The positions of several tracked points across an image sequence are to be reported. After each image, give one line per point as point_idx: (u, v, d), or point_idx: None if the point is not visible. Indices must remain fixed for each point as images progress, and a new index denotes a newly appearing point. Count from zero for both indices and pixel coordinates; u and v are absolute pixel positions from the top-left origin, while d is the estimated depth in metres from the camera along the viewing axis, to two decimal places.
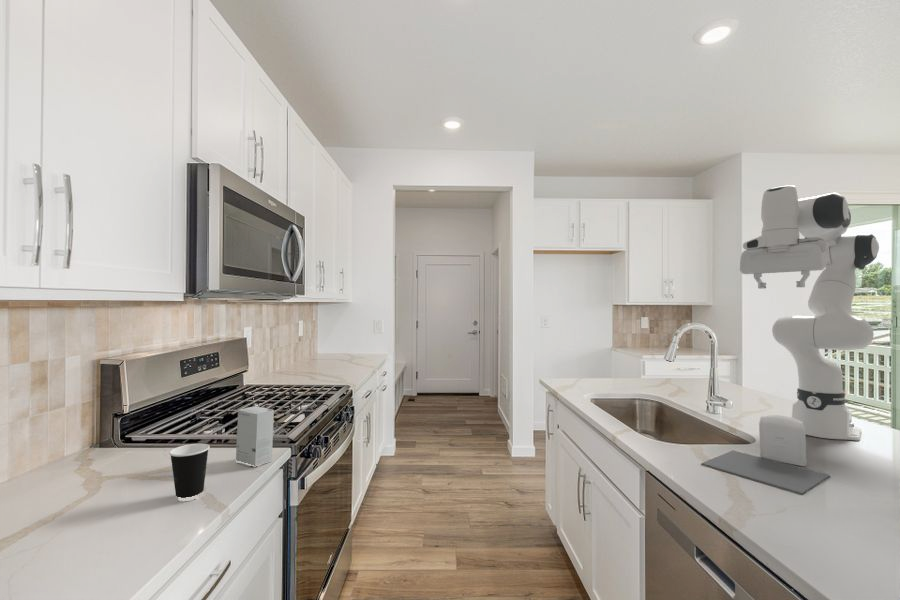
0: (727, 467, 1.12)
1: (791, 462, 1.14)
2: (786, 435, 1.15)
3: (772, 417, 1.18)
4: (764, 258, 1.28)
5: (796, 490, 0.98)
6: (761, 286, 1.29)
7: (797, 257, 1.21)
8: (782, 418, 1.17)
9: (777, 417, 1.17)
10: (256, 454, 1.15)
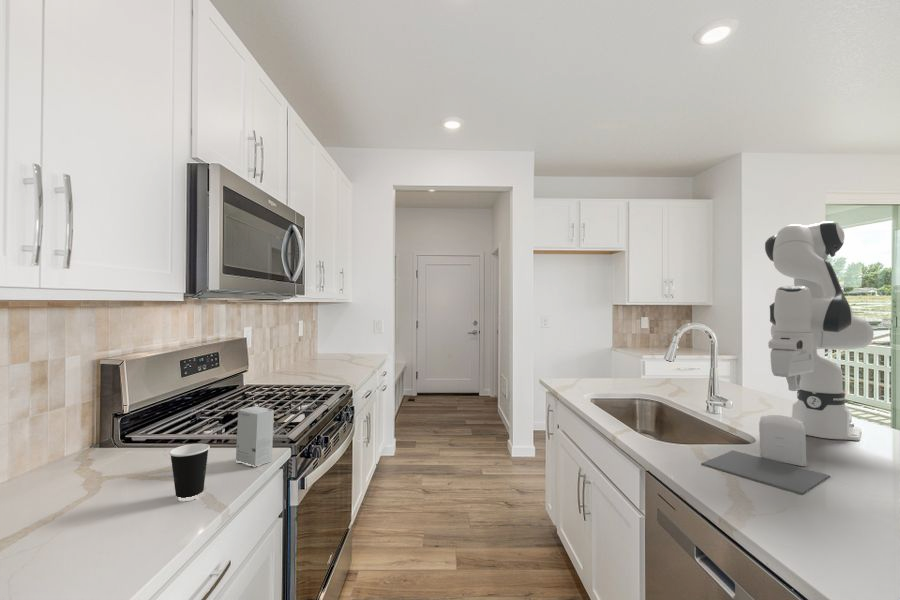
0: (727, 467, 1.12)
1: (791, 462, 1.14)
2: (786, 435, 1.15)
3: (772, 417, 1.18)
4: (795, 360, 1.19)
5: (796, 490, 0.98)
6: (797, 388, 1.21)
7: (807, 360, 1.24)
8: (782, 418, 1.17)
9: (777, 417, 1.17)
10: (256, 454, 1.15)
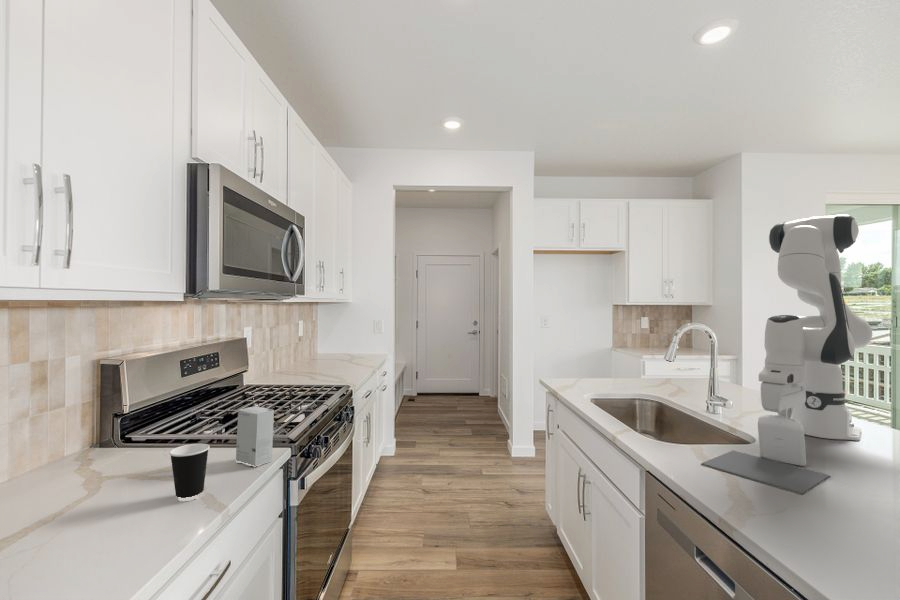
0: (727, 467, 1.12)
1: (791, 462, 1.14)
2: (785, 436, 1.14)
3: (770, 418, 1.17)
4: (786, 393, 1.16)
5: (796, 490, 0.98)
6: None
7: (798, 392, 1.20)
8: (780, 419, 1.15)
9: (775, 418, 1.16)
10: (256, 454, 1.15)
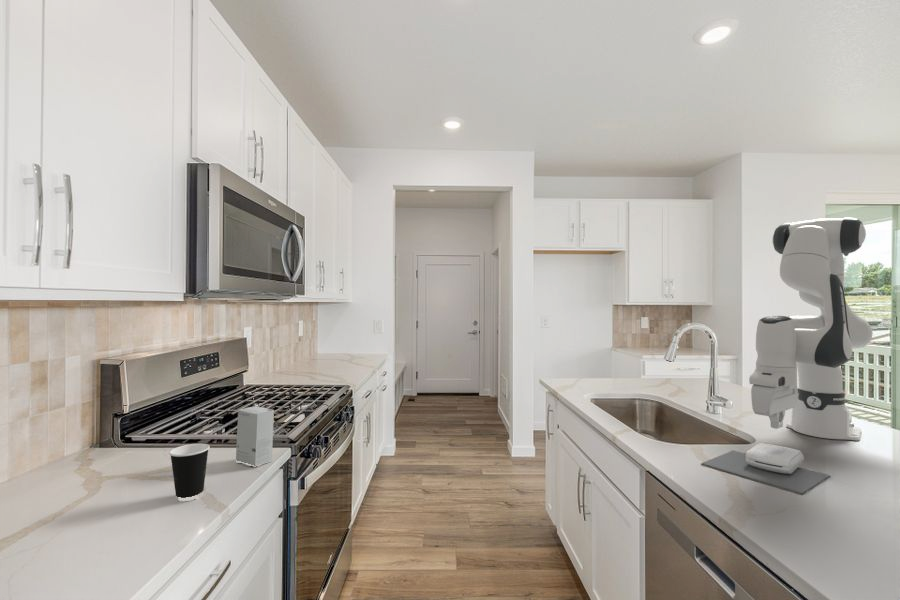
0: (727, 467, 1.12)
1: None
2: None
3: (758, 466, 1.10)
4: (777, 396, 1.13)
5: (796, 490, 0.98)
6: (779, 426, 1.15)
7: (790, 395, 1.17)
8: (768, 468, 1.08)
9: (763, 467, 1.09)
10: (256, 454, 1.15)
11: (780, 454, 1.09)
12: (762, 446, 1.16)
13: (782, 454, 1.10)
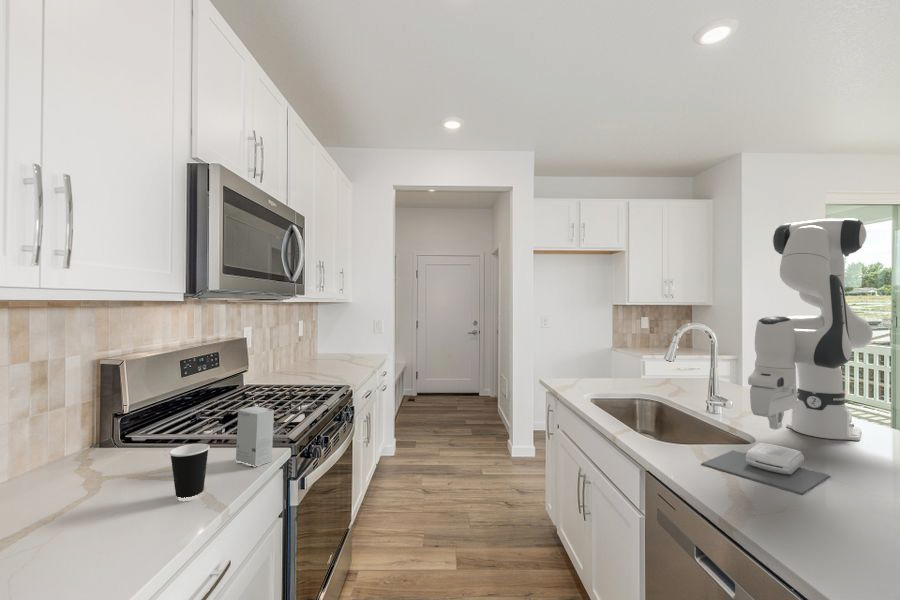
0: (727, 467, 1.12)
1: None
2: None
3: (758, 466, 1.10)
4: (776, 397, 1.12)
5: (796, 490, 0.98)
6: (778, 427, 1.14)
7: (789, 395, 1.17)
8: (768, 469, 1.08)
9: (763, 467, 1.09)
10: (256, 454, 1.15)
11: (781, 455, 1.09)
12: (763, 446, 1.16)
13: (783, 454, 1.09)
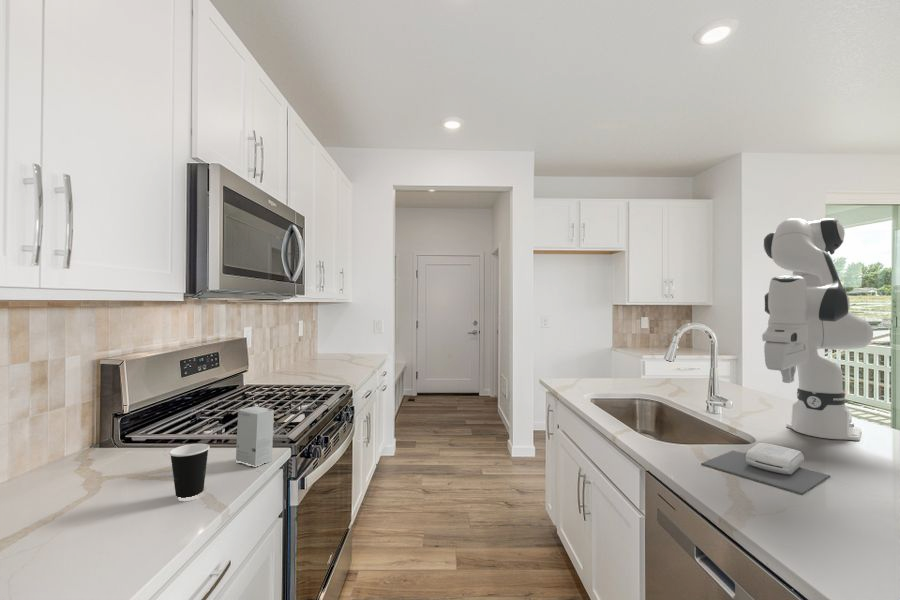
0: (727, 467, 1.12)
1: None
2: None
3: (758, 466, 1.10)
4: (789, 352, 1.17)
5: (796, 490, 0.98)
6: (791, 380, 1.19)
7: (801, 351, 1.21)
8: (768, 469, 1.08)
9: (763, 467, 1.09)
10: (256, 454, 1.15)
11: (781, 455, 1.09)
12: (763, 446, 1.16)
13: (783, 454, 1.09)
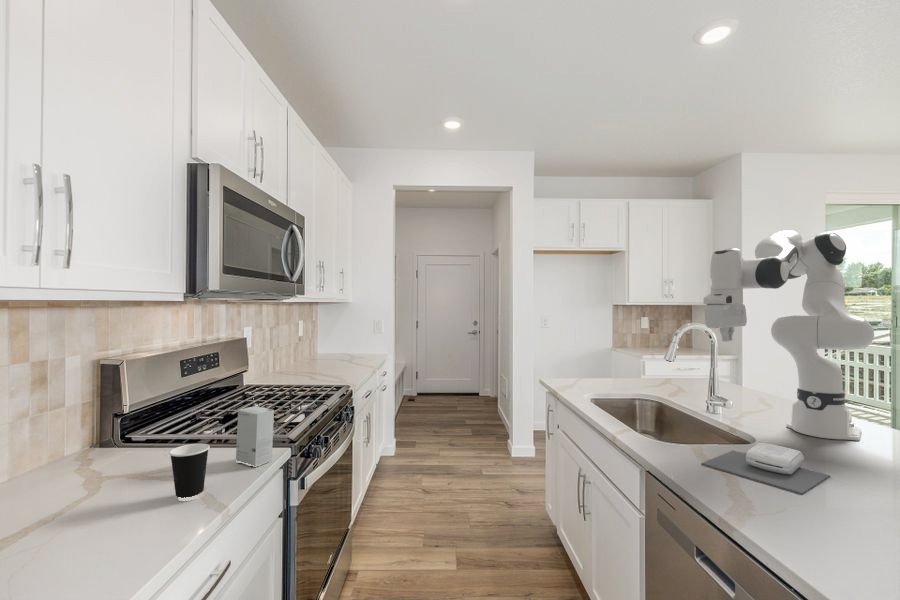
0: (727, 467, 1.12)
1: None
2: None
3: (758, 466, 1.10)
4: (726, 313, 1.35)
5: (796, 490, 0.98)
6: (729, 339, 1.37)
7: (739, 315, 1.39)
8: (768, 469, 1.08)
9: (763, 467, 1.09)
10: (256, 454, 1.15)
11: (781, 455, 1.09)
12: (763, 446, 1.16)
13: (783, 454, 1.09)
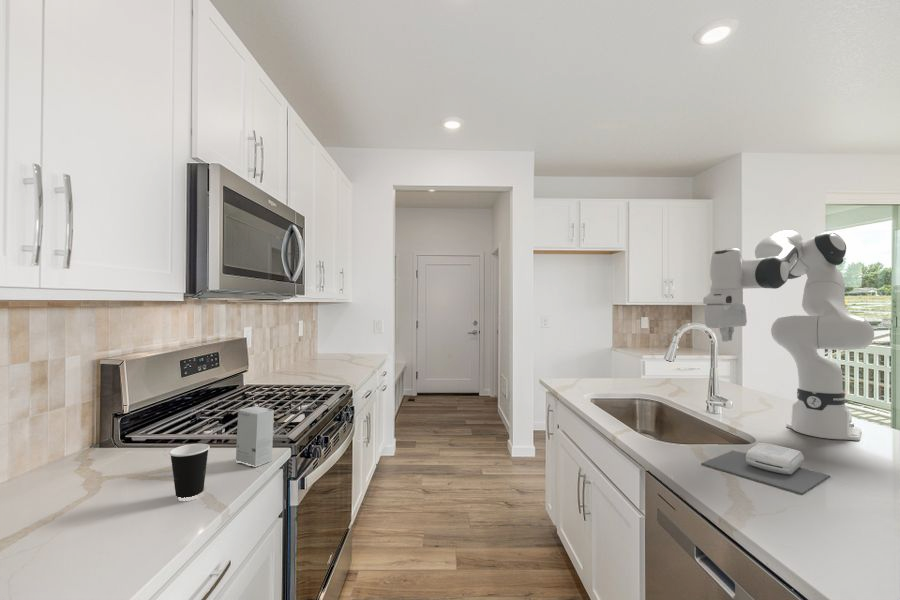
0: (727, 467, 1.12)
1: None
2: None
3: (758, 466, 1.10)
4: (726, 313, 1.35)
5: (796, 490, 0.98)
6: (729, 339, 1.37)
7: (739, 314, 1.40)
8: (768, 469, 1.08)
9: (763, 467, 1.09)
10: (256, 454, 1.15)
11: (781, 455, 1.09)
12: (763, 446, 1.16)
13: (783, 454, 1.09)
